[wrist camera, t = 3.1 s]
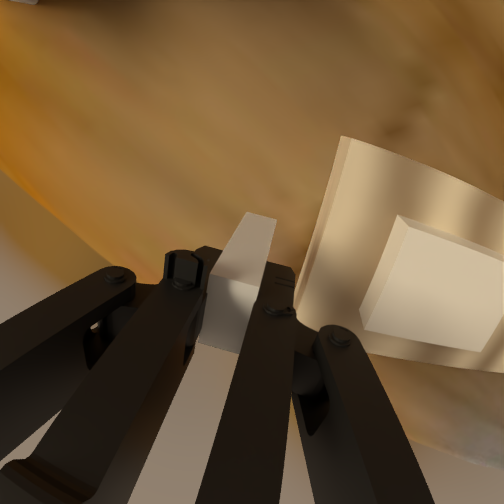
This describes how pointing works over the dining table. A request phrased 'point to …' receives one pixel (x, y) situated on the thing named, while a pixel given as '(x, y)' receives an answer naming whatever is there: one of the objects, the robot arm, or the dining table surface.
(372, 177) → the riser
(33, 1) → the tea box
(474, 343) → the cream rectangular block
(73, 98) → the dining table surface
